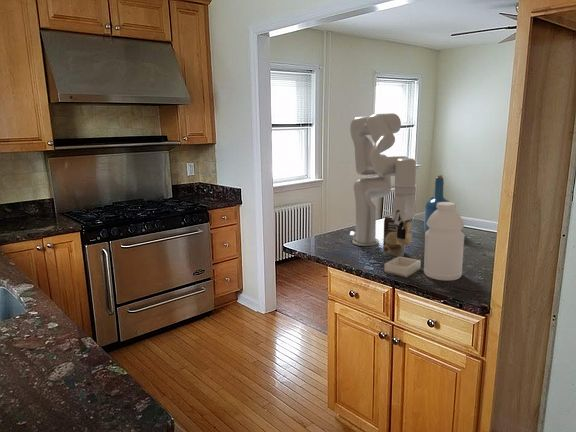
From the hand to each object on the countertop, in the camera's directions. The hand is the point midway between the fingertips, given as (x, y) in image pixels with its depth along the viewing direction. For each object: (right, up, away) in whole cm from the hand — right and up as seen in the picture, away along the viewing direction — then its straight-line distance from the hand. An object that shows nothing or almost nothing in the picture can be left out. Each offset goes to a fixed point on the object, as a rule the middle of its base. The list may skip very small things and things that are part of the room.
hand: (403, 236), depth 168 cm
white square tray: (0, -14, +3) cm, 14 cm away
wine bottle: (+32, -1, +55) cm, 64 cm away
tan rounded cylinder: (0, -3, 0) cm, 3 cm away
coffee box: (+2, -9, +24) cm, 26 cm away
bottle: (+14, -15, -2) cm, 21 cm away
